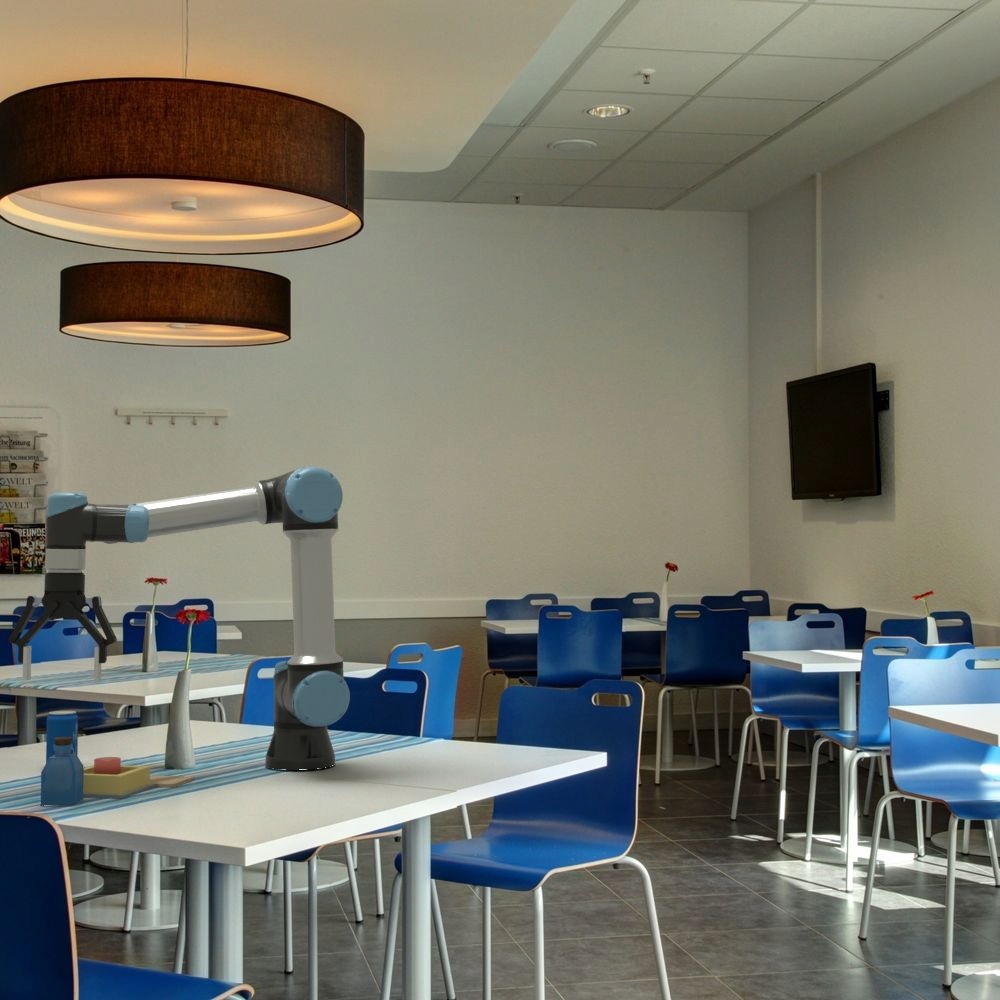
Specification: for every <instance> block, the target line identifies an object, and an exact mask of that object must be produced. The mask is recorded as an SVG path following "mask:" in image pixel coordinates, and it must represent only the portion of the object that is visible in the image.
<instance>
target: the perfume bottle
mask: <svg viewBox="0 0 1000 1000" xmlns="http://www.w3.org/2000/svg"><path fill="white" fill-rule="evenodd" d="M54 740H55V744H54V745H53V750H54V751H55V755H53V756H51V757H50V758H49V759H48V761H47V763H46V762H45V765H44V766H43V768H42V769H41V772H40V807H45V806H44V805H75V806H77V805H78V804H79V803H81V802H82V801H83V800H84V797H83V777H84V768H85V767H84V764H83V763H82V761H81V759H80V758H79V756H78V755H77V754H71V750H73V744H71V740H72V737H57V738H54ZM82 799H83V800H82ZM81 800H82V801H81ZM80 801H81V802H80ZM78 802H79V803H78ZM77 803H78V804H77ZM76 804H77V805H76ZM42 805H43V806H42Z"/></svg>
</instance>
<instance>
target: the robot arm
mask: <svg viewBox="0 0 1000 1000" xmlns="http://www.w3.org/2000/svg"><path fill="white" fill-rule="evenodd" d="M343 496H344V494H343V489H342V486H341V484H340V481H339V480H338V479H337V477H336V476H335V475H334V474H333V473H332V472H330V471H328V470H327V469H325V468H322V467H319V466H306V467H300V468H299V469H296V470H291V471H289V472H286V473H285V474H284V473H283V474H281V475H278V476H275V477H273V478H272V477H271V478H268V479H263V480H257V481H255V482H254V483H253V485H252V486H246V487H240V488H239V487H238V488H234V489H227V490H219V491H213V492H206V493H199V494H192V495H185V496H178V497H173V498H172V497H171V498H163V499H159V500H158V499H157V500H151V501H145V502H138V503H137V502H136V503H132V504H94V503H93V504H92V503H89V500H88V496H87V495H86V494H85V493H74V492H56V493H51V494H50V495H49V496H48V498H47V504H46V507H47V508H46V516H45V519H46V521H45V523H46V524H45V559H44V560H45V561H44V569H45V570H47V572H46V573H44V590H43V591H44V592H43V596H42V597H41V596H40V597H39V596H36V595H29V596H28V597H27V598H26V602H25V603H26V604H25V608H24V610H23V612H22V613H21V615H20V617H19V619H18V621H17V623H16V625H15V626H14V628H13V630H12V632H11V634H10V635H9V637H8V642H9V643H10V644H13V645H16V646H17V649H18V651H17V652H18V653H17V655H18V656H17V661H18V663H19V664H20V663H21V664H22V681H29V680H31V676H32V674H31V673H32V648H33V647H32V645H29V643H30V642H31V641H32V640H33V638H34V637H35V636H36V635H37V634H38V633H39V632H40V631H41V630H42V629H43V627H44V626H45V625H46V624H47V623H48V622H49V621H50V620H51V619H54V620H62V619H65V620H73V619H76V620H77V621H78V622H79V623H80V625H81V626H82V627H83V628H84V629H85V630H86V632H87V634H89V635H90V637H91V638H92V639H93V640H94V641H95V642H96V644H97V645H98V646H95V647H94V658H93V662H94V663H93V681H94V682H98V681H101V680H102V664H106V662H107V659H108V657H107V656H108V647H109V645H113V644H115V643H117V642H118V639H117V636H116V635H115V632H114V630H113V627H112V626H111V624H110V621H109V620H108V617H107V615H106V613H105V611H104V609H103V605H102V597H101V596H99V595H97V596H93V597H87V596H86V593H85V591H86V590H85V586H86V585H85V583H86V574H85V573H83V571H84V570H86V554H87V553H86V548H87V547H86V546H87V545H86V544H87V542H92V543H93V542H99V543H100V542H101V543H104V544H109V545H111V544H118V543H128V544H134V543H145V542H146V541H147V540H148V538H153V537H159V536H167V535H168V536H169V535H174V534H179V533H187V532H193V531H199V530H206V529H207V530H208V529H211V528H212V529H213V528H220V527H226V526H232V525H237V524H238V525H240V524H245V523H252V522H258V523H260V524H261V525H262V526H263V525H269V524H270V525H271V524H281V523H282V533H283V534H284V535H285V537H287V538H288V539H289V541H290V563H291V565H290V568H291V588H292V589H291V593H292V597H291V598H292V618H293V622H292V623H293V626H292V627H293V648H294V649H293V651H294V653H293V655H292V656H291V657H290V659H288V660H283V661H279V662H277V663H276V664H275V666H274V671H273V672H274V673H273V702H274V703H273V733H272V734H271V735H272V736H271V739H270V742H269V745H268V749H267V750H266V755H265V768H267V767H269V768H274V769H286V770H299V769H317V768H325V767H330V766H332V765H334V764H335V765H336V755H335V750H334V748H333V744H332V740H331V737H330V735H329V731H328V726H330V725H333V724H335V723H336V722H338V721H339V720H340V719H342V717H343V716H344V715H345V713H346V712H347V710H348V707H349V705H350V700H351V693H350V689H349V686H348V684H347V683H348V682H347V681H346V680H345V679H344V676H345V675H344V660H343V657H341V655H339V654H338V653H337V651H336V636H335V632H336V631H335V627H336V626H335V605H334V604H335V603H334V601H335V599H334V580H333V579H334V576H333V574H334V573H333V571H334V570H333V552H332V551H333V545H332V540H333V539H332V538H333V537H334V536H335V535H336V533H337V532H339V516H338V515H339V514H338V513H339V511H340V509H341V508H342V503H343V499H344V498H343ZM40 604H42V606H43V607H44V609H45V610H44V612H43V613H42V614H41V615H40V616H39V618H38V619H37V620H36V621H35V622H34V623H33V625H32V626H31V627H30V628H29V629H28V630H27V631H26V632H25V633H24V631H25V629H26V626H27V624H28V623H29V621H30V619H31V618H32V616H33V614H34V612H35V610H36V608H38V607H40ZM87 604H88V606H89V608H91V609H92V610H93V613H94V615H95V617H96V619H97V620H98V621H97V622H98V623H99V625H100V628H101V629H102V632H103V634H104V635H105V636H103V634H102V633H101V632H100V631H99V630H98V628H97V627H96V626H95V625H94V623H93V622H92V621H91V620H90V619H89V618H88V615H87V614H86V613H85V612H84V611H83V609H84V607H86V605H87ZM23 633H24V635H23ZM22 635H23V636H22ZM21 636H22V637H21ZM269 768H268V769H269ZM330 768H331V767H330ZM274 769H273V770H274ZM325 769H326V768H325Z"/></svg>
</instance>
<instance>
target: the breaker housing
mask: <svg viewBox="0 0 1000 1000" xmlns="http://www.w3.org/2000/svg"><path fill="white" fill-rule="evenodd" d="M150 776H151V766H150V765H149V766H146V765H145V766H143V765H121V774H118V775H110V774H94V764H92V765H89V766H86V767H84V777H83V798H99V799H102V798H103V799H121V800H122V799H125V798H129V797H131V796H133V795H136V794H138V793H141V792H144V791H147V790H150V789H153V788H157V787H156V784H155V783H150Z"/></svg>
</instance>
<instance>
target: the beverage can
mask: <svg viewBox="0 0 1000 1000" xmlns="http://www.w3.org/2000/svg"><path fill="white" fill-rule="evenodd" d="M78 736H79V716H78V715H77V712H76V711H75V710H56V711H49V712H48V716H47V718H46V741H45V742H46V743H45V744H46V745H45V748H46V750H45V752H46V753H45V764H46V763H47V761H48V759H49V758H50V757H51V756H53V755H55V751H54V750H53V745H54V744H55V740H54V738H57V737H72V740H71V744H73V750H71V754H77V756H78V752H79V751H78V749H79V745H78V741H79V737H78Z"/></svg>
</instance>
